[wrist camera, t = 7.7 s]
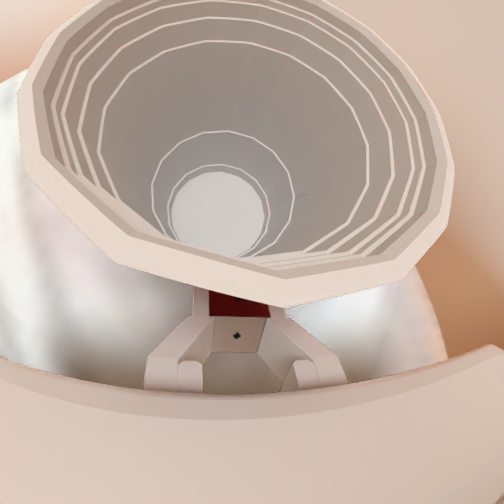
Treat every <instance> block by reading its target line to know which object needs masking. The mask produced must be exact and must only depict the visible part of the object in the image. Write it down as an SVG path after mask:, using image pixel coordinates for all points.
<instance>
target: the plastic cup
mask: <svg viewBox="0 0 504 504" xmlns="http://www.w3.org/2000/svg"><path fill="white" fill-rule="evenodd" d="M17 104H18V124H19V136H20V145H21V153H22V160H23V167H24V171H25V173H26V174H27V175H28V176H29V177H30V178H31V180H32V181H33V182H34V183H35V184H36V185H37V186H38V187H39V189H40V190H41V191H42V192H43V193H44V194H45V195H46V196H47V197H48V198H49V200H50V201H51V202H52V203H53V204H54V205H55V206H56V207H57V208H58V209H59V210H60V211H61V212H62V213H63V214H64V215H65V216H66V217H67V218H68V219H69V220H70V221H71V222H72V223H73V224H74V225H75V226H76V227H77V228H78V229H79V230H80V231H81V232H82V233H83V234H84V235H85V236H86V237H87V238H88V239H89V240H90V241H91V242H92V243H93V244H95V245H96V246H97V247H98V248H99V249H100V250H101V251H102V252H103V253H104V254H105V255H106V256H108V257H109V258H110V259H111V260H112V261H113V262H115V263H118V264H121V265H124V266H127V267H131V268H134V269H137V270H141V271H144V272H147V273H151V274H154V275H158V276H161V277H164V278H168V279H171V280H175V281H179V282H182V283H186V284H189V285H193V286H197V287H201V288H204V289H208V290H212V291H216V292H220V293H223V294H227V295H231V296H235V297H239V298H243V299H247V300H251V301H256V302H260V303H264V304H268V305H273V306H277V307H281V308H287V307H292V306H297V305H301V304H306V303H311V302H315V301H320V300H324V299H329V298H333V297H337V296H342V295H346V294H350V293H354V292H358V291H362V290H366V289H370V288H374V287H378V286H382V285H385V284H389V283H393V282H396V281H400V280H401V279H402V278H403V277H404V276H405V275H406V274H407V273H408V272H409V271H410V270H411V269H412V267H413V266H414V265H415V264H416V263H417V262H418V261H419V259H420V258H421V257H422V256H423V255H424V254H425V253H426V251H427V250H428V249H429V248H430V247H431V246H432V244H433V243H434V242H435V241H436V239H437V238H438V237H439V236H440V235H441V233H442V232H443V231H444V229H445V228H446V227H447V224H448V218H449V212H450V206H451V199H452V192H453V183H454V174H455V168H454V163H453V159H452V154H451V150H450V147H449V143H448V139H447V135H446V132H445V129H444V125H443V122H442V119H441V116H440V114H439V112H438V110H437V109H436V107H435V105H434V104H433V102H432V100H431V98H430V97H429V95H428V93H427V92H426V90H425V89H424V87H423V86H422V84H421V82H420V81H419V79H418V78H417V76H416V75H415V73H414V72H413V70H412V69H411V68H410V67H409V66H408V65H407V63H406V62H405V61H404V60H403V59H402V58H401V57H400V56H399V55H398V54H397V53H396V52H395V51H394V50H393V49H392V48H391V47H390V46H389V45H388V44H387V43H386V42H385V41H384V40H382V39H381V38H380V37H379V36H378V35H377V34H376V33H375V32H374V31H372V30H371V29H370V28H369V27H367V26H366V25H364V24H363V23H361V22H360V21H358V20H357V19H355V18H354V17H352V16H351V15H349V14H347V13H346V12H344V11H342V10H341V9H339V8H337V7H336V6H334V5H332V4H331V3H329V2H327V1H325V0H94V1H93V2H91V3H90V4H88V5H87V6H85V7H84V8H83V9H81V10H80V11H79V12H77V13H76V14H75V15H73V16H72V17H71V18H69V19H68V20H67V21H66V22H64V23H63V24H62V25H61V26H60V27H58V28H57V29H56V30H55V31H54V32H53V33H51V34H50V35H49V36H48V38H47V39H46V41H45V42H44V44H43V46H42V47H41V49H40V50H39V52H38V54H37V56H36V57H35V59H34V61H33V63H32V64H31V66H30V68H29V70H28V72H27V74H26V76H25V78H24V80H23V82H22V84H21V86H20V88H19V90H18V92H17Z"/></svg>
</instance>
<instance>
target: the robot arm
mask: <svg viewBox="0 0 504 504" xmlns="http://www.w3.org/2000/svg"><path fill="white" fill-rule="evenodd" d="M211 352H251V353H257V355H258V356H259V357H260V358H261V359H262V360H263V362H264V363H265V364H266V365H267V366H268V367H269V369H270V370H271V371H272V372H273V373H274V374H275V376H276V377H277V378H278V379H279V380H280V381H281V382H282V384H283V385H282V387H281V389H280V391H279V392H274V393H256V394H203V371H202V366H203V364H204V363H205V361H206V360H207V358H208V357H209V355H210V354H211ZM0 504H504V350H502V349H500V348H498V347H497V346H495V345H492V344H488V345H485V346H483V347H481V348H478V349H476V350H473V351H470V352H468V353H465V354H462V355H459V356H456V357H454V358H451V359H448V360H445V361H441V362H438V363H435V364H432V365H428V366H425V367H422V368H418V369H414V370H411V371H407V372H403V373H399V374H395V375H390V376H386V377H381V378H377V379H372V380H367V381H362V382H356V383H350V384H349V383H348V380H347V378H346V375H345V373H344V370H343V368H342V365H341V363H340V360H339V358H338V356H337V355H336V354H335V353H333V352H332V351H331V350H330V349H328V348H327V347H326V346H325V345H323V344H322V343H321V342H320V341H318V340H317V339H316V338H315V337H313V336H312V335H311V334H310V333H308V332H307V331H306V330H305V329H303V328H302V327H301V326H300V325H298V324H297V323H296V322H295V321H294V320H292V319H291V318H287V317H286V314H285V311H284V308H281V307H277V306H273V305H268V304H264V303H260V302H256V301H251V300H247V299H243V298H239V297H235V296H231V295H227V294H223V293H220V292H216V291H212V290H208V289H204V288H201V287H197V286H194V288H193V307H192V316H189V315H188V316H187V317H186V318H185V319H184V320H183V321H182V322H181V323H180V324H179V325H178V326H177V327H176V328H175V329H174V330H173V331H172V332H171V333H170V334H169V335H168V336H167V337H166V338H165V339H164V340H163V341H162V342H161V343H160V344H159V345H158V346H157V347H156V348H155V349H154V350H153V351H152V352H151V353H150V354H149V355H148V356H147V362H146V369H145V376H144V384H143V390H142V389H134V388H126V387H119V386H113V385H106V384H101V383H95V382H90V381H85V380H80V379H75V378H71V377H66V376H62V375H58V374H54V373H50V372H46V371H43V370H39V369H36V368H32V367H29V366H26V365H23V364H20V363H17V362H14V361H11V360H8V359H5V358H2V357H0Z"/></svg>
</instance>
